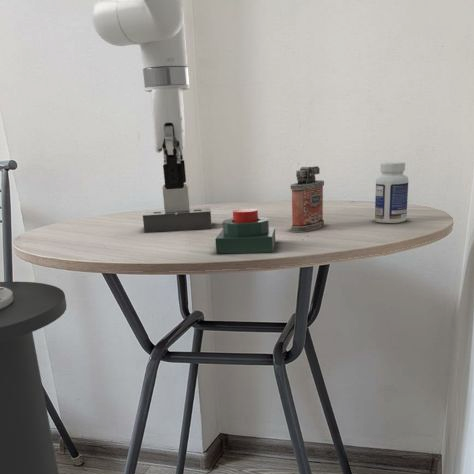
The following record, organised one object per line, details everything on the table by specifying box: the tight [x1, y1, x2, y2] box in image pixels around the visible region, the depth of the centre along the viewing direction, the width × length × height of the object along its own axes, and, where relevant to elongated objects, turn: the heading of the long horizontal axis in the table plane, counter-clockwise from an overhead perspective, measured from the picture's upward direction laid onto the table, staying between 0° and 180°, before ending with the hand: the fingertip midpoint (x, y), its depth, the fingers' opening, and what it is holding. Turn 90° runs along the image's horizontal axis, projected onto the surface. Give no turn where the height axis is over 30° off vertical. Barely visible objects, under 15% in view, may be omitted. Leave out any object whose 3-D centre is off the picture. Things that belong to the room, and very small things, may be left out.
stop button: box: [232, 208, 259, 223], centre depth 84 cm, size 4×4×2 cm
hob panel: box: [142, 207, 212, 233], centre depth 106 cm, size 9×12×3 cm
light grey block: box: [161, 183, 191, 212], centre depth 105 cm, size 4×2×5 cm, turn 93°
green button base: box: [215, 216, 276, 255], centre depth 85 cm, size 8×8×4 cm
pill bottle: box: [374, 161, 409, 224], centre depth 100 cm, size 5×5×10 cm
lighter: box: [290, 165, 325, 233], centre depth 98 cm, size 8×3×10 cm, turn 143°
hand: (176, 185), depth 104 cm, fingers open, 9 cm apart
